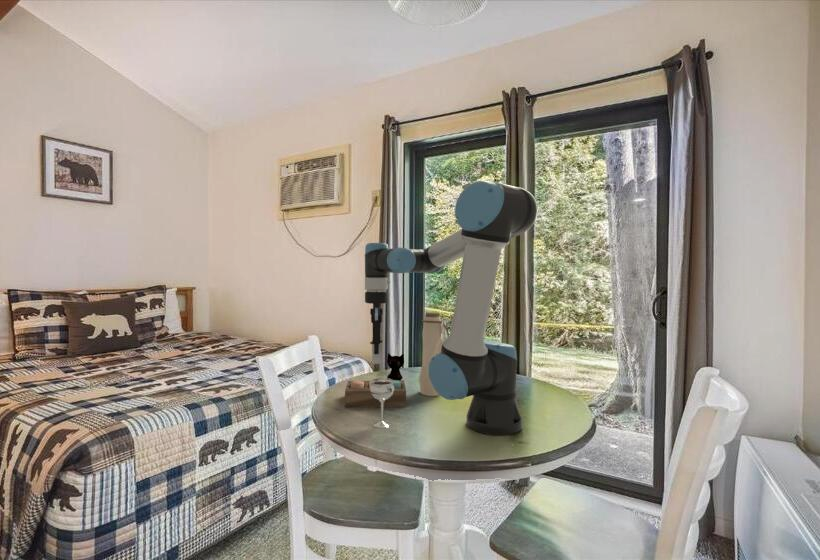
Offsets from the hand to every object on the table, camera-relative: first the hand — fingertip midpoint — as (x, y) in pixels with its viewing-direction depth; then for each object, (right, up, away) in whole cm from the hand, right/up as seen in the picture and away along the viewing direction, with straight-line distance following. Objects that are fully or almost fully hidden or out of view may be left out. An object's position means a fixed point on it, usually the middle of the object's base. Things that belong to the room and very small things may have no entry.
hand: (376, 363), depth 138 cm
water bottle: (+19, -12, +10) cm, 25 cm away
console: (0, -12, 0) cm, 12 cm away
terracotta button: (-6, -12, 0) cm, 13 cm away
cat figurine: (+6, -12, +19) cm, 23 cm away
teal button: (+6, -12, +1) cm, 13 cm away
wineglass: (+3, -13, -20) cm, 24 cm away
